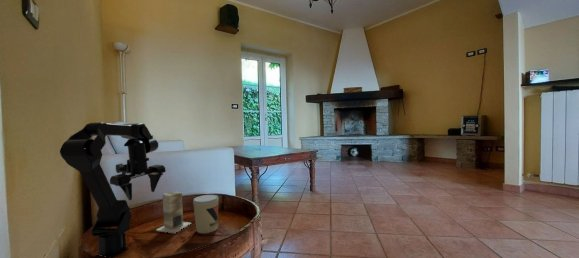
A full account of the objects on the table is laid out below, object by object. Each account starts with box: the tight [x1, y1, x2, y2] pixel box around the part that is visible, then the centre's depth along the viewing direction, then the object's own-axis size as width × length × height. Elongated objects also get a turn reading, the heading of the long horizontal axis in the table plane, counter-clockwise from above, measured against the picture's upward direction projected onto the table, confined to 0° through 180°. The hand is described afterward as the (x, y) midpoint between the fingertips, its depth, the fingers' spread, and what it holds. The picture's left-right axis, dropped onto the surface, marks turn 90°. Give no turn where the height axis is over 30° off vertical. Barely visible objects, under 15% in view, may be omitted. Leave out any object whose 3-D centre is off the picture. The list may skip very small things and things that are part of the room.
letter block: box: [162, 190, 184, 230], centre depth 99 cm, size 5×5×13 cm
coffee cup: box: [192, 194, 220, 234], centre depth 96 cm, size 9×9×12 cm
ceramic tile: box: [155, 221, 192, 234], centre depth 99 cm, size 9×9×1 cm
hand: (142, 195), depth 97 cm, fingers open, 9 cm apart
